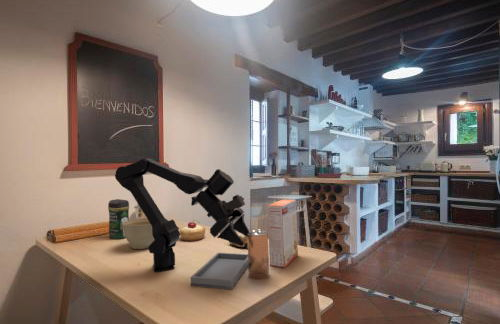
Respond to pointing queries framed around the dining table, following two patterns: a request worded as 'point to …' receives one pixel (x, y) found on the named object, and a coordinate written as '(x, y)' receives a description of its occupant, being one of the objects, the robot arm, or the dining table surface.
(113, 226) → the coffee jar
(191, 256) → the dining table surface
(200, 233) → the pastry
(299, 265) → the dining table surface
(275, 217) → the cracker box
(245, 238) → the decorative rock
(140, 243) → the planter bowl
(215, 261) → the gray tray
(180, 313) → the dining table surface
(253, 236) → the copper cylinder
